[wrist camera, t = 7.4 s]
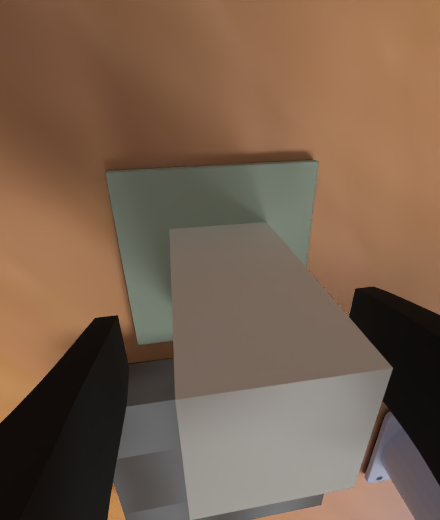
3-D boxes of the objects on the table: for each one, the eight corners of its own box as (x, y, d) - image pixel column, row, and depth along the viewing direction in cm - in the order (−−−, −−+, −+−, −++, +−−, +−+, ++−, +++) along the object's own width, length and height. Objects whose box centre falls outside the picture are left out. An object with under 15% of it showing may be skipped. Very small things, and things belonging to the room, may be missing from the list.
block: (266, 222, 13) (393, 368, 6) (262, 302, 15) (354, 487, 7) (169, 228, 12) (175, 399, 5) (177, 311, 14) (190, 520, 7)
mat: (314, 159, 12) (318, 161, 12) (296, 320, 16) (299, 325, 16) (107, 170, 11) (105, 173, 11) (138, 339, 15) (138, 345, 15)
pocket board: (328, 337, 17) (353, 372, 15) (305, 465, 22) (321, 504, 20) (101, 367, 15) (91, 412, 13) (137, 497, 21) (133, 543, 19)
